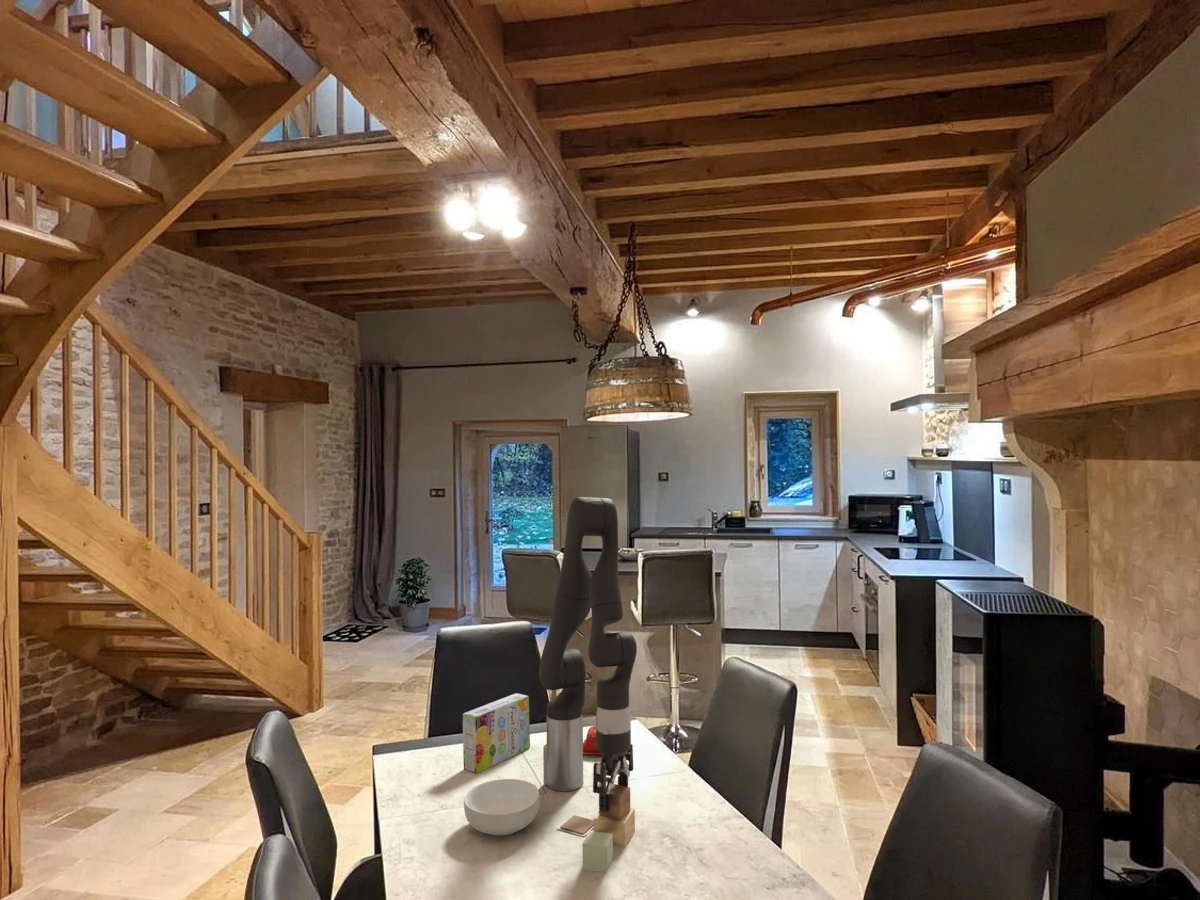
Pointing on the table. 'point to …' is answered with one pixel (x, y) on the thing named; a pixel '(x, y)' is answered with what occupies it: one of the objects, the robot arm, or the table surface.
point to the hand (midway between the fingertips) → (614, 802)
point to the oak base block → (617, 827)
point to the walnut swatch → (577, 826)
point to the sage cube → (597, 851)
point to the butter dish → (591, 742)
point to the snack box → (495, 732)
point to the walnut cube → (617, 802)
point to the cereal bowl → (501, 806)
